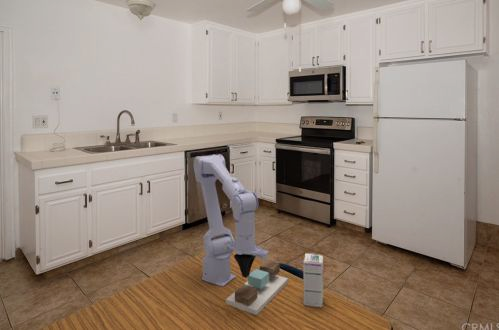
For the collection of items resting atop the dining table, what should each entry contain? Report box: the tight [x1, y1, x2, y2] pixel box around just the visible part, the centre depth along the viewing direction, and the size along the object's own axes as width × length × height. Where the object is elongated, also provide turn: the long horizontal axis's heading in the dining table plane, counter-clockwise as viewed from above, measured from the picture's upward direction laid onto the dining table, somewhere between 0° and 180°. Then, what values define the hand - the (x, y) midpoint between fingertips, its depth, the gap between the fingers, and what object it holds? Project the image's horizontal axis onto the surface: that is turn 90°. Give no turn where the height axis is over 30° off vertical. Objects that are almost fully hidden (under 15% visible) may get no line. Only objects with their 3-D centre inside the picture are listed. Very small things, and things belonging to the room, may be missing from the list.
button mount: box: [225, 274, 289, 316], centre depth 104 cm, size 11×21×4 cm, turn 148°
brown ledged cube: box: [234, 283, 257, 306], centre depth 98 cm, size 5×5×3 cm
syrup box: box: [302, 253, 324, 308], centre depth 98 cm, size 6×6×14 cm
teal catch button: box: [247, 268, 269, 289], centre depth 104 cm, size 5×5×3 cm
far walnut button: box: [259, 259, 281, 278], centre depth 110 cm, size 5×5×3 cm
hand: (245, 275), depth 97 cm, fingers closed
